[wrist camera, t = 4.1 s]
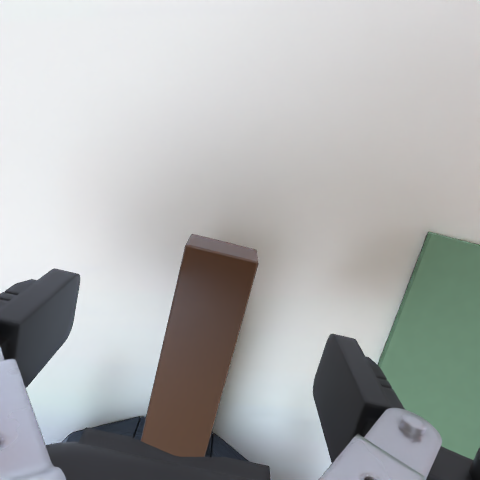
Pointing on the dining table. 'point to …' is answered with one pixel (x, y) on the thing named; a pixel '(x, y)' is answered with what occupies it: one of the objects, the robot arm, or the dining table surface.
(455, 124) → the dining table surface
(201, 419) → the pan
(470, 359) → the cloth
